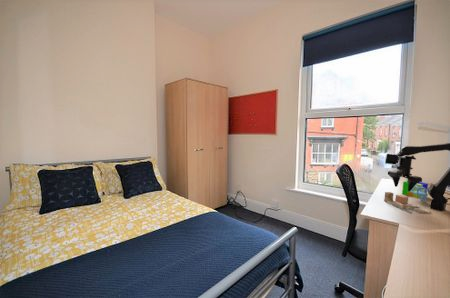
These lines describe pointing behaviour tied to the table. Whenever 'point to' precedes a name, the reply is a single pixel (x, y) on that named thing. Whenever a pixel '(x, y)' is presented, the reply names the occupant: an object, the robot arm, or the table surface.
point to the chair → (420, 192)
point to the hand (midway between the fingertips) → (402, 188)
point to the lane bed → (409, 208)
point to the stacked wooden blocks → (389, 199)
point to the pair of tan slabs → (418, 208)
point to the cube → (401, 199)
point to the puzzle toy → (408, 193)
